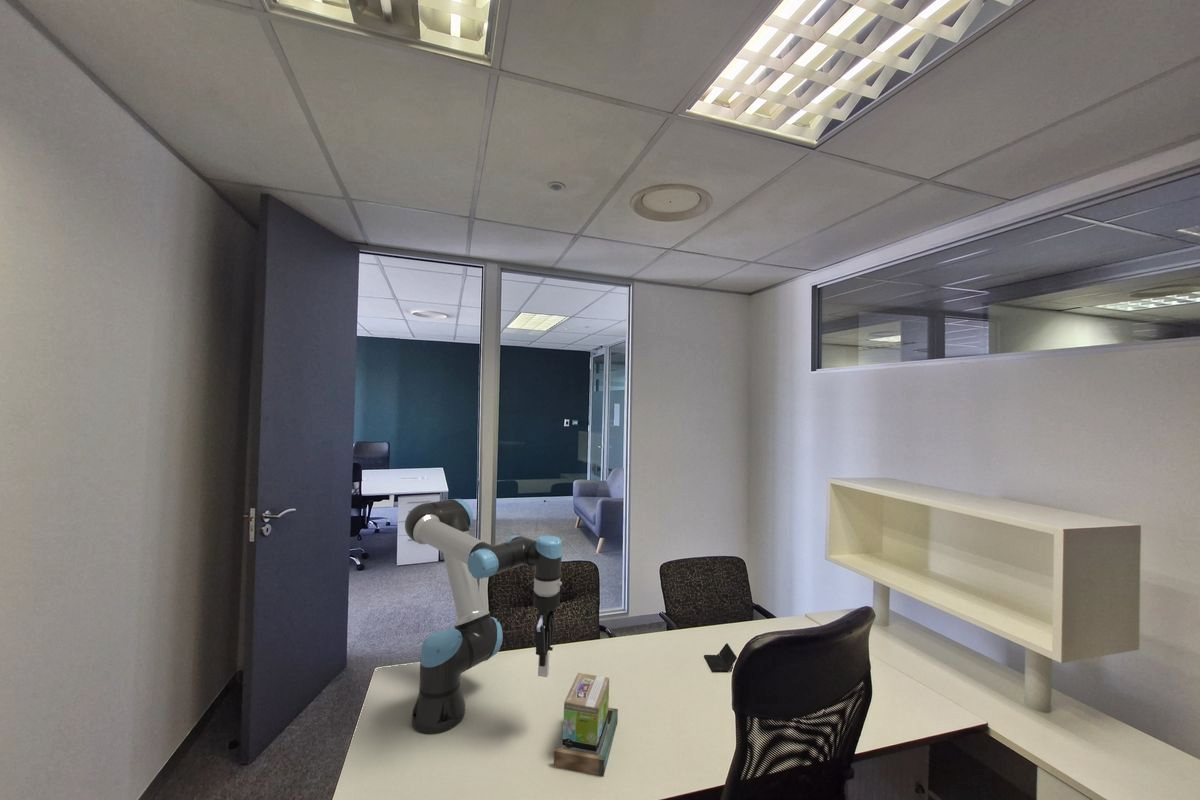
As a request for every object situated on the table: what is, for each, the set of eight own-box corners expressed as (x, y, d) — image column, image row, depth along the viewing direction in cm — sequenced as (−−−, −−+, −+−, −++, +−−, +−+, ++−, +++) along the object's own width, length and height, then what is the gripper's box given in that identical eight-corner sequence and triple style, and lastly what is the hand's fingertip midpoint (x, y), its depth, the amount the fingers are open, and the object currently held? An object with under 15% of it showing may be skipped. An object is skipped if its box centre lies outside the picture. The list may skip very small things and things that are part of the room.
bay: (553, 767, 114) (554, 750, 115) (574, 715, 135) (575, 702, 135) (603, 776, 112) (603, 760, 112) (617, 722, 132) (617, 709, 132)
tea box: (597, 766, 115) (599, 707, 116) (560, 759, 117) (562, 701, 118) (608, 727, 130) (609, 675, 130) (575, 722, 132) (576, 671, 133)
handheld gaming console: (698, 653, 170) (715, 632, 170) (711, 662, 171) (728, 642, 172) (712, 674, 159) (729, 652, 159) (725, 684, 160) (743, 662, 161)
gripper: (552, 602, 121) (548, 691, 120) (565, 585, 133) (562, 664, 133) (526, 599, 122) (522, 686, 121) (542, 582, 135) (538, 661, 134)
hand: (543, 675), depth 127 cm, fingers closed
